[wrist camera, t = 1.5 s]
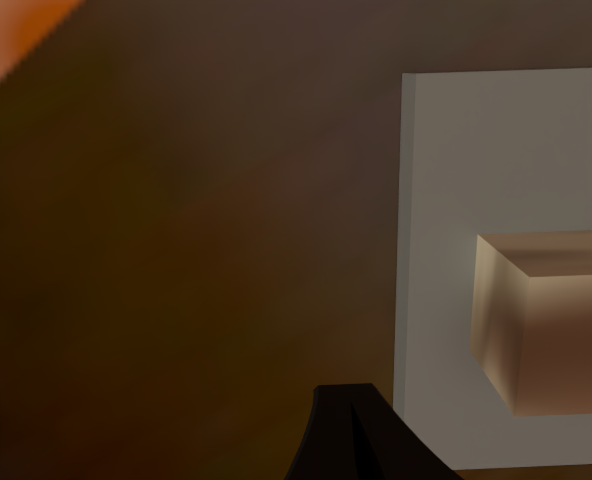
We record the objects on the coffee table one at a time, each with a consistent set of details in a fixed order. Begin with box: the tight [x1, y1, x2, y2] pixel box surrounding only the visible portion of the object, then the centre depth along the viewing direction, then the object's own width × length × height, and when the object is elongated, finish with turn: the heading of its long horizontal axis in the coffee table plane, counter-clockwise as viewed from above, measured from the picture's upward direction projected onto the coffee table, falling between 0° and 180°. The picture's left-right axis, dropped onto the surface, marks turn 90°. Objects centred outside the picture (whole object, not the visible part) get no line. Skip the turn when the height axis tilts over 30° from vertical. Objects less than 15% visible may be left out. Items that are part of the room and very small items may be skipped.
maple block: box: [469, 230, 592, 417], centre depth 17 cm, size 4×4×4 cm
